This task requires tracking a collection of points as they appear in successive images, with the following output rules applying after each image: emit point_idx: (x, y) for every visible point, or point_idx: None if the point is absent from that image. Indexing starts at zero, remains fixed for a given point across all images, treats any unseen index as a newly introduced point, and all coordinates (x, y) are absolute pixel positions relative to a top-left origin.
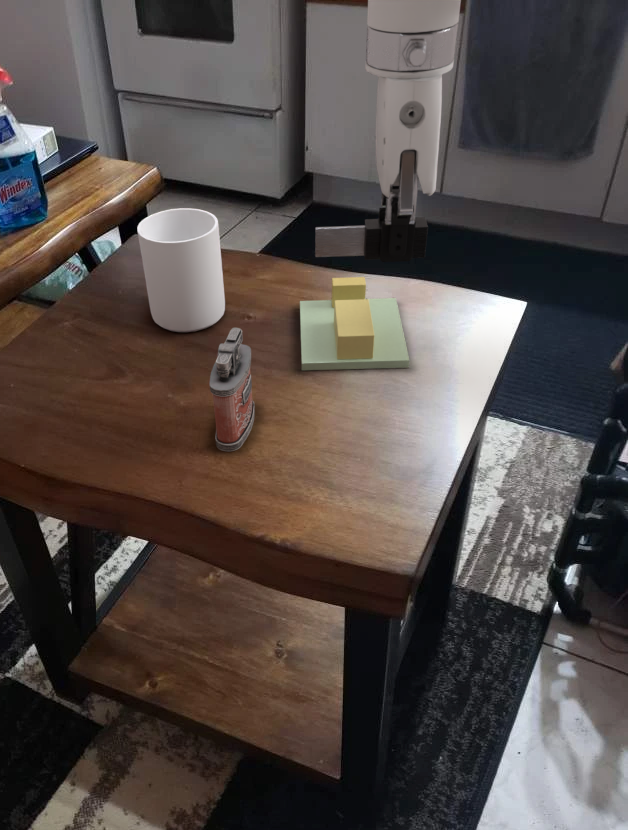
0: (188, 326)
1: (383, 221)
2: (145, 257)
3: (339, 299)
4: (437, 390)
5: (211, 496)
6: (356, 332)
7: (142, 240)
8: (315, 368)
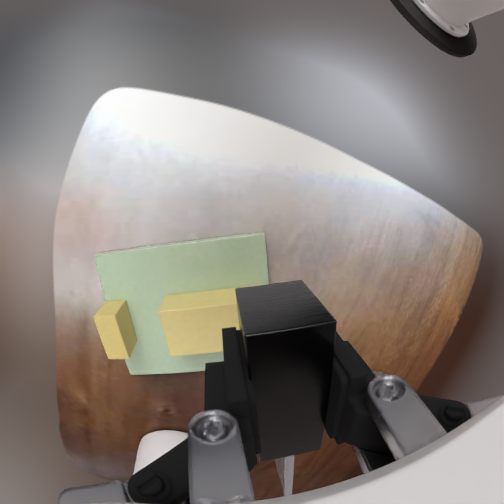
0: None
1: (341, 441)
2: None
3: (131, 338)
4: (312, 195)
5: (420, 369)
6: None
7: None
8: None
